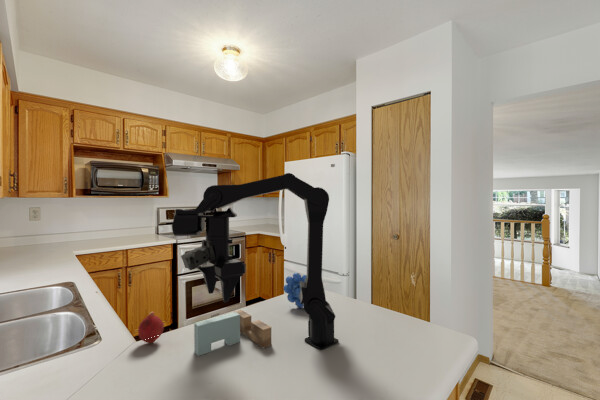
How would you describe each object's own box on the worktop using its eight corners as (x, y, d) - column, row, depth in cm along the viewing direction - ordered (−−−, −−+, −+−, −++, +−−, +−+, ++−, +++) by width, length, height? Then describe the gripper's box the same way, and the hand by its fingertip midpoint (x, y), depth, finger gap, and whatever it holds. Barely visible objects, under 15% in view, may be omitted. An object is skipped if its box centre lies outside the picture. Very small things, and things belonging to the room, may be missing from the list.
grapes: (281, 311, 96) (281, 275, 96) (284, 304, 103) (284, 270, 103) (316, 312, 95) (316, 276, 95) (317, 305, 102) (317, 271, 102)
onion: (153, 350, 72) (153, 317, 72) (132, 347, 73) (132, 315, 73) (168, 339, 77) (168, 309, 78) (149, 337, 79) (149, 307, 79)
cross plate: (240, 341, 76) (239, 314, 76) (198, 356, 69) (197, 326, 69) (235, 338, 78) (235, 312, 78) (194, 352, 71) (194, 323, 71)
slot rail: (271, 345, 74) (271, 327, 74) (263, 348, 72) (263, 329, 72) (241, 325, 86) (241, 309, 86) (233, 327, 85) (233, 311, 85)
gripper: (173, 235, 76) (173, 295, 75) (199, 241, 61) (200, 316, 61) (214, 232, 83) (214, 287, 83) (246, 237, 68) (247, 304, 68)
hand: (218, 297), depth 73 cm, fingers open, 9 cm apart
